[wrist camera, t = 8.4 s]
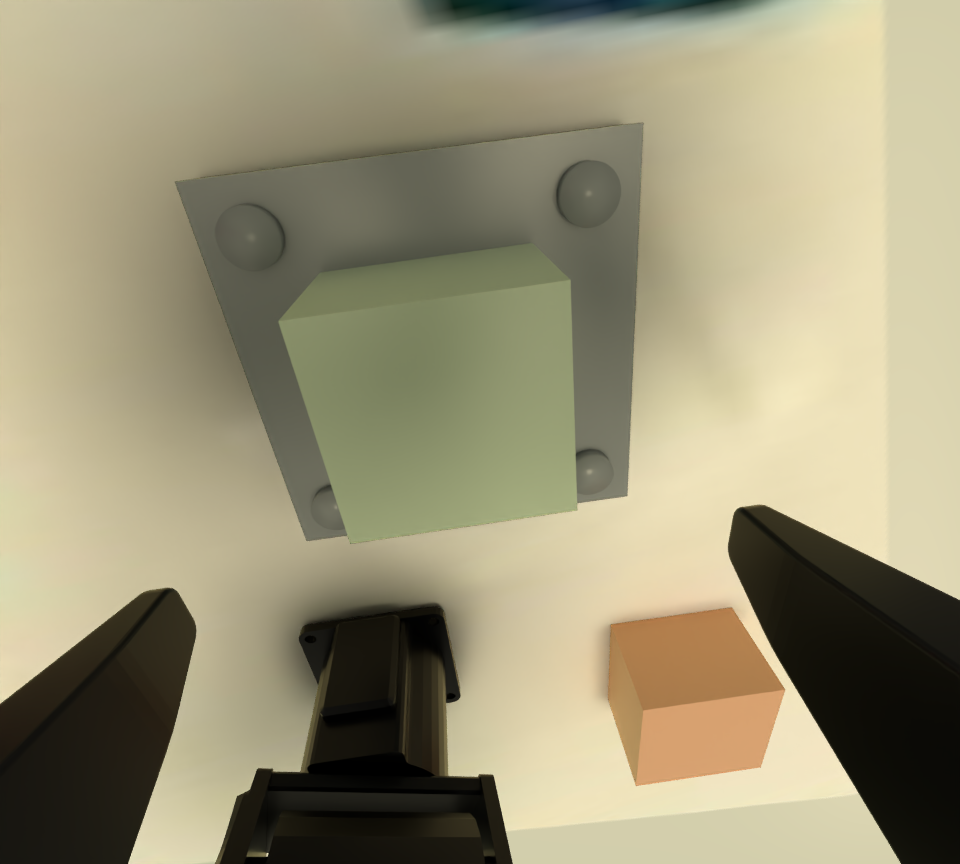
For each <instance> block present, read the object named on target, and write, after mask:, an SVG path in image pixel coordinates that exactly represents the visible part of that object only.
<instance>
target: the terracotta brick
mask: <svg viewBox="0 0 960 864" xmlns="http://www.w3.org/2000/svg"><path fill="white" fill-rule="evenodd" d="M784 692H785V689H784V687H783V685H782V684H781V682H780V681H779V679H778V678H777V676H776V675H775V673H774V672H773V670H772V669H771V667H770V666H769V664H768V662H767V661H766V659H765V658H764V656H763V655H762V653H761V652H760V650H759V649H758V647H757V646H756V644H755V643H754V641H753V639H752V638H751V636H750V635H749V633H748V632H747V630H746V629H745V627H744V626H743V624H742V623H741V621H740V620H739V618H738V616H737V615H736V613H735V612H734V610H733V609H732V608H725V609H718V610H710V611H703V612H696V613H689V614H682V615H675V616H668V617H661V618H653V619H646V620H639V621H632V622H625V623H618V624H611V633H610V660H609V686H608V700H609V703H610V707H611V710H612V713H613V716H614V719H615V722H616V725H617V728H618V731H619V735H620V738H621V741H622V744H623V747H624V750H625V753H626V756H627V759H628V763H629V766H630V769H631V772H632V775H633V778H634V781H635V784H636V786H639V785H646V784H652V783H659V782H666V781H672V780H679V779H686V778H692V777H699V776H706V775H712V774H719V773H726V772H732V771H739V770H746V769H752V768H759V767H761V764H762V761H763V758H764V755H765V752H766V749H767V746H768V742H769V739H770V736H771V733H772V730H773V727H774V723H775V720H776V717H777V714H778V711H779V708H780V705H781V701H782V698H783V695H784Z"/></svg>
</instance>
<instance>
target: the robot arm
mask: <svg viewBox="0 0 960 864" xmlns="http://www.w3.org/2000/svg"><path fill="white" fill-rule="evenodd" d="M728 553H729V557H730V560H731V562H732V565H733V567H734V569H735V571H736V573H737V575H738V577H739V580H740V582H741V584H742V586H743V588H744V590H745V592H746V595H747V597H748V599H749V601H750V603H751V605H752V607H753V610H754V612H755V614H756V616H757V618H758V620H759V622H760V625H761V627H762V629H763V631H764V633H765V635H766V637H767V639H768V641H769V643H770V645H771V647H772V649H773V651H774V652H775V654H776V656H777V658H778V659H779V661H780V663H781V664H782V666H783V668H784V669H785V671H786V673H787V674H788V676H789V678H790V679H791V681H792V683H793V684H794V686H795V688H796V689H797V691H798V693H799V694H800V696H801V698H802V699H803V701H804V703H805V704H806V706H807V708H808V709H809V711H810V713H811V714H812V716H813V718H814V719H815V721H816V723H817V724H818V726H819V728H820V729H821V731H822V733H823V734H824V736H825V738H826V739H827V741H828V743H829V744H830V746H831V748H832V749H833V751H834V753H835V754H836V756H837V758H838V759H839V761H840V763H841V764H842V766H843V768H844V769H845V771H846V773H847V774H848V776H849V778H850V779H851V781H852V783H853V784H854V786H855V788H856V789H857V791H858V793H859V794H860V796H861V798H862V799H863V801H864V803H865V804H866V806H867V808H868V809H869V811H870V813H871V814H872V816H873V818H874V819H875V821H876V823H877V824H878V826H879V828H880V829H881V831H882V833H883V834H884V836H885V838H886V839H887V840H888V843H889V844H890V846H891V848H892V849H893V851H894V853H895V854H896V856H897V858H898V859H899V861H900V863H901V864H960V600H958V599H956V598H954V597H952V596H950V595H948V594H946V593H944V592H942V591H940V590H938V589H935V588H934V587H932V586H930V585H927V584H925V583H924V582H921V581H919V580H917V579H915V578H913V577H911V576H909V575H907V574H905V573H903V572H901V571H899V570H897V569H895V568H893V567H891V566H889V565H887V564H885V563H883V562H880V561H878V560H876V559H874V558H872V557H870V556H868V555H866V554H864V553H862V552H860V551H858V550H856V549H854V548H852V547H850V546H848V545H846V544H844V543H841V542H839V541H837V540H835V539H833V538H831V537H829V536H827V535H825V534H823V533H821V532H819V531H817V530H815V529H813V528H811V527H809V526H807V525H805V524H803V523H800V522H798V521H796V520H794V519H792V518H790V517H788V516H786V515H784V514H782V513H780V512H778V511H776V510H774V509H772V508H770V507H767V506H765V505H753V506H746V507H740V508H738V509H737V510H736V511H735V512H734V515H733V520H732V526H731V531H730V537H729V542H728ZM195 638H196V625H195V621H194V619H193V617H192V616H191V614H190V612H189V610H188V609H187V607H186V605H185V604H184V602H183V600H182V598H181V597H180V595H179V593H178V592H177V591H176V590H174V589H173V588H162V589H155V590H149V591H145V592H143V593H142V594H140V595H139V596H138V597H136V598H135V599H134V600H132V601H131V602H130V603H129V604H127V605H126V606H125V607H124V608H122V609H121V610H120V611H118V612H117V613H116V614H115V615H113V616H112V617H111V618H109V619H108V620H107V621H106V622H104V623H103V624H102V625H101V626H99V627H98V628H97V629H95V630H94V631H93V632H92V633H90V634H89V635H88V636H86V637H85V638H84V639H83V640H81V641H80V642H79V643H78V644H76V645H75V646H74V647H72V648H71V649H70V650H69V651H67V652H66V653H65V654H63V655H62V656H61V657H60V658H58V659H57V660H56V661H55V662H53V663H52V664H51V665H49V666H48V667H47V668H46V669H44V670H43V671H42V672H40V673H39V674H38V675H37V676H35V677H34V678H33V679H32V680H30V681H29V682H28V683H26V684H25V685H24V686H23V687H21V688H20V689H19V690H17V691H16V692H15V693H14V694H12V695H11V696H10V697H9V698H7V699H6V700H5V701H3V702H2V703H1V704H0V864H128V862H129V859H130V856H131V853H132V850H133V847H134V844H135V841H136V839H137V836H138V833H139V830H140V827H141V824H142V821H143V818H144V815H145V813H146V810H147V807H148V804H149V801H150V798H151V795H152V792H153V789H154V786H155V784H156V781H157V778H158V775H159V772H160V769H161V766H162V763H163V760H164V758H165V755H166V752H167V749H168V745H169V742H170V739H171V736H172V733H173V729H174V726H175V722H176V718H177V714H178V710H179V706H180V701H181V697H182V693H183V689H184V685H185V681H186V676H187V672H188V668H189V664H190V660H191V655H192V651H193V647H194V643H195ZM299 641H300V644H301V646H302V648H303V651H304V653H305V655H306V658H307V660H308V662H309V665H310V667H311V669H312V671H313V674H314V676H315V678H316V681H317V683H318V689H317V694H316V699H315V704H314V709H313V714H312V718H311V723H310V728H309V733H308V738H307V742H306V747H305V752H304V757H303V762H302V767H301V771H300V772H273V769H266V768H258V769H257V771H256V774H255V777H254V780H253V783H252V786H251V789H250V790H249V791H247V792H245V793H243V794H241V795H239V796H237V798H236V802H235V805H234V808H233V812H232V815H231V819H230V822H229V825H228V829H227V832H226V835H225V838H224V841H223V844H222V847H221V850H220V853H219V855H218V858H217V860H216V862H215V864H513V863H512V858H511V854H510V849H509V844H508V840H507V836H506V831H505V826H504V821H503V817H502V812H501V808H500V803H499V798H498V794H497V789H496V785H495V780H494V776H493V775H488V774H479V776H478V777H459V776H448V752H447V716H446V703H450V702H455V701H457V700H458V699H459V698H460V685H459V680H458V675H457V671H456V666H455V661H454V656H453V652H452V647H451V642H450V637H449V632H448V628H447V623H446V618H445V613H444V611H443V610H442V609H441V608H438V607H427V608H420V609H413V610H406V611H399V612H392V613H385V614H378V615H371V616H365V617H358V618H351V619H344V620H337V621H330V622H323V623H316V624H309V625H306V626H304V627H303V628H302V629H301V632H300V636H299ZM266 853H269V854H268V857H266Z"/></svg>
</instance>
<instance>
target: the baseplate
mask: <svg viewBox="0 0 960 864" xmlns="http://www.w3.org/2000/svg"><path fill="white" fill-rule="evenodd" d="M642 142H643V123H634V124H624V125H616V126H608V127H600V128H592V129H584V130H576V131H568V132H560V133H552V134H544V135H537V136H529V137H521V138H513V139H505V140H497V141H489V142H481V143H473V144H465V145H457V146H449V147H442V148H434V149H426V150H418V151H410V152H402V153H394V154H386V155H378V156H370V157H362V158H354V159H347V160H339V161H331V162H323V163H315V164H307V165H299V166H291V167H283V168H275V169H267V170H259V171H252V172H244V173H236V174H228V175H220V176H212V177H204V178H196V179H190V180H183V181H176V182H175V183H176V186H177V189H178V192H179V194H180V197H181V200H182V202H183V205H184V208H185V211H186V213H187V216H188V219H189V222H190V224H191V227H192V230H193V232H194V235H195V238H196V241H197V243H198V246H199V249H200V252H201V254H202V257H203V260H204V262H205V265H206V268H207V271H208V273H209V276H210V279H211V282H212V284H213V287H214V290H215V292H216V295H217V298H218V301H219V303H220V306H221V309H222V312H223V314H224V317H225V320H226V322H227V325H228V328H229V331H230V333H231V336H232V339H233V342H234V344H235V347H236V350H237V352H238V355H239V358H240V361H241V363H242V366H243V369H244V372H245V374H246V377H247V380H248V383H249V385H250V388H251V391H252V393H253V396H254V399H255V402H256V404H257V407H258V410H259V413H260V415H261V418H262V421H263V423H264V426H265V429H266V432H267V434H268V437H269V440H270V443H271V445H272V448H273V451H274V453H275V456H276V459H277V462H278V464H279V467H280V470H281V473H282V475H283V478H284V481H285V483H286V486H287V489H288V492H289V494H290V497H291V500H292V503H293V505H294V508H295V511H296V513H297V516H298V519H299V522H300V524H301V527H302V530H303V533H304V535H305V538H306V541H311V540H319V539H326V538H333V537H340V536H347V532H346V529H345V526H344V523H343V520H342V517H341V514H340V511H339V508H338V505H337V501H336V498H335V495H334V492H333V489H332V486H331V483H330V480H329V477H328V474H327V471H326V468H325V464H324V461H323V458H322V455H321V452H320V449H319V446H318V443H317V440H316V437H315V434H314V430H313V427H312V424H311V421H310V418H309V415H308V412H307V409H306V406H305V403H304V400H303V396H302V393H301V390H300V387H299V384H298V381H297V378H296V375H295V372H294V369H293V366H292V363H291V359H290V356H289V353H288V350H287V347H286V344H285V341H284V338H283V335H282V332H281V329H280V325H279V322H278V321H279V320H280V318H281V317H282V316H283V315H284V314H285V313H286V311H287V310H288V309H289V308H290V307H291V306H292V304H293V303H294V302H295V301H296V300H297V299H298V297H299V296H300V295H301V294H302V293H303V292H304V291H305V289H306V288H307V287H308V286H309V285H310V284H311V282H312V281H313V280H314V279H315V278H316V277H317V275H318V274H319V273H321V272H328V271H335V270H342V269H349V268H356V267H364V266H371V265H378V264H385V263H392V262H399V261H406V260H414V259H421V258H428V257H435V256H442V255H449V254H456V253H464V252H471V251H478V250H485V249H492V248H499V247H507V246H514V245H521V244H528V243H533V244H534V245H535V246H536V247H537V248H538V249H539V250H540V251H541V252H542V253H543V254H544V255H545V256H546V257H547V258H548V259H549V260H551V261H552V262H553V263H554V264H555V265H556V266H557V267H558V268H559V269H560V270H561V271H562V272H563V273H564V274H565V275H566V276H567V277H568V278H569V279H570V280H571V313H572V347H573V381H574V415H575V449H576V483H577V503H582V502H589V501H596V500H603V499H610V498H617V497H625V496H627V491H628V468H629V445H630V421H631V398H632V375H633V351H634V328H635V305H636V281H637V258H638V235H639V212H640V188H641V165H642Z"/></svg>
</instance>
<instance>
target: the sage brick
mask: <svg viewBox="0 0 960 864" xmlns="http://www.w3.org/2000/svg"><path fill="white" fill-rule="evenodd" d="M278 322H279V325H280V329H281V332H282V335H283V338H284V341H285V344H286V347H287V350H288V353H289V356H290V359H291V363H292V366H293V369H294V372H295V375H296V378H297V381H298V384H299V387H300V390H301V393H302V396H303V400H304V403H305V406H306V409H307V412H308V415H309V418H310V421H311V424H312V427H313V430H314V434H315V437H316V440H317V443H318V446H319V449H320V452H321V455H322V458H323V461H324V464H325V468H326V471H327V474H328V477H329V480H330V483H331V486H332V489H333V492H334V495H335V498H336V501H337V505H338V508H339V511H340V514H341V517H342V520H343V523H344V526H345V529H346V532H347V535H348V539H349V542H350V544H353V543H360V542H367V541H373V540H380V539H387V538H394V537H400V536H407V535H414V534H421V533H427V532H434V531H441V530H448V529H454V528H461V527H468V526H475V525H481V524H488V523H495V522H502V521H509V520H515V519H522V518H529V517H536V516H542V515H549V514H556V513H563V512H569V511H576V510H577V483H576V449H575V415H574V381H573V347H572V313H571V280H570V279H569V278H568V277H567V276H566V275H565V274H564V273H563V272H562V271H561V270H560V269H559V268H558V267H557V266H556V265H555V264H554V263H553V262H552V261H551V260H549V259H548V258H547V257H546V256H545V255H544V254H543V253H542V252H541V251H540V250H539V249H538V248H537V247H536V246H535V245H534V244H533V243H528V244H521V245H514V246H507V247H499V248H492V249H485V250H478V251H471V252H464V253H456V254H449V255H442V256H435V257H428V258H421V259H414V260H406V261H399V262H392V263H385V264H378V265H371V266H364V267H356V268H349V269H342V270H335V271H328V272H321V273H319V274H318V275H317V277H316V278H315V279H314V280H313V281H312V282H311V284H310V285H309V286H308V287H307V288H306V289H305V291H304V292H303V293H302V294H301V295H300V296H299V297H298V299H297V300H296V301H295V302H294V303H293V304H292V306H291V307H290V308H289V309H288V310H287V311H286V313H285V314H284V315H283V316H282V317H281V318H280V320H279V321H278Z"/></svg>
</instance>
